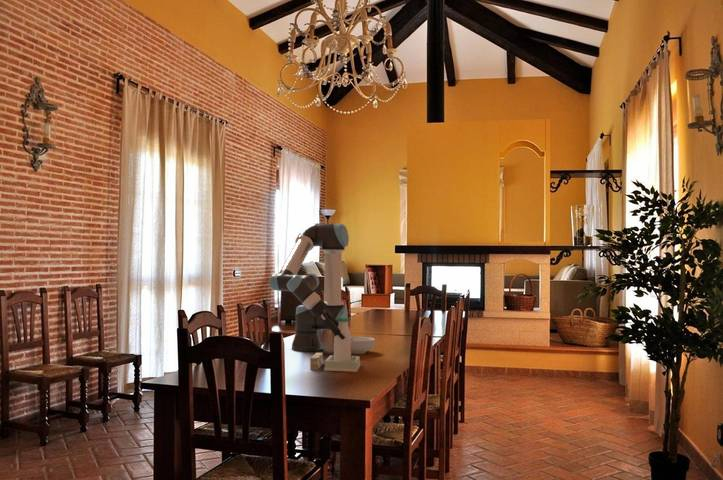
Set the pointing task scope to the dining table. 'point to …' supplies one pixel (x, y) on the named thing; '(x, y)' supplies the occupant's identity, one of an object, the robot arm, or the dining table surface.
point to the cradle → (342, 364)
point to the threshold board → (316, 361)
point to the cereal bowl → (362, 344)
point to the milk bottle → (340, 348)
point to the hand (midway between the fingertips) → (350, 342)
